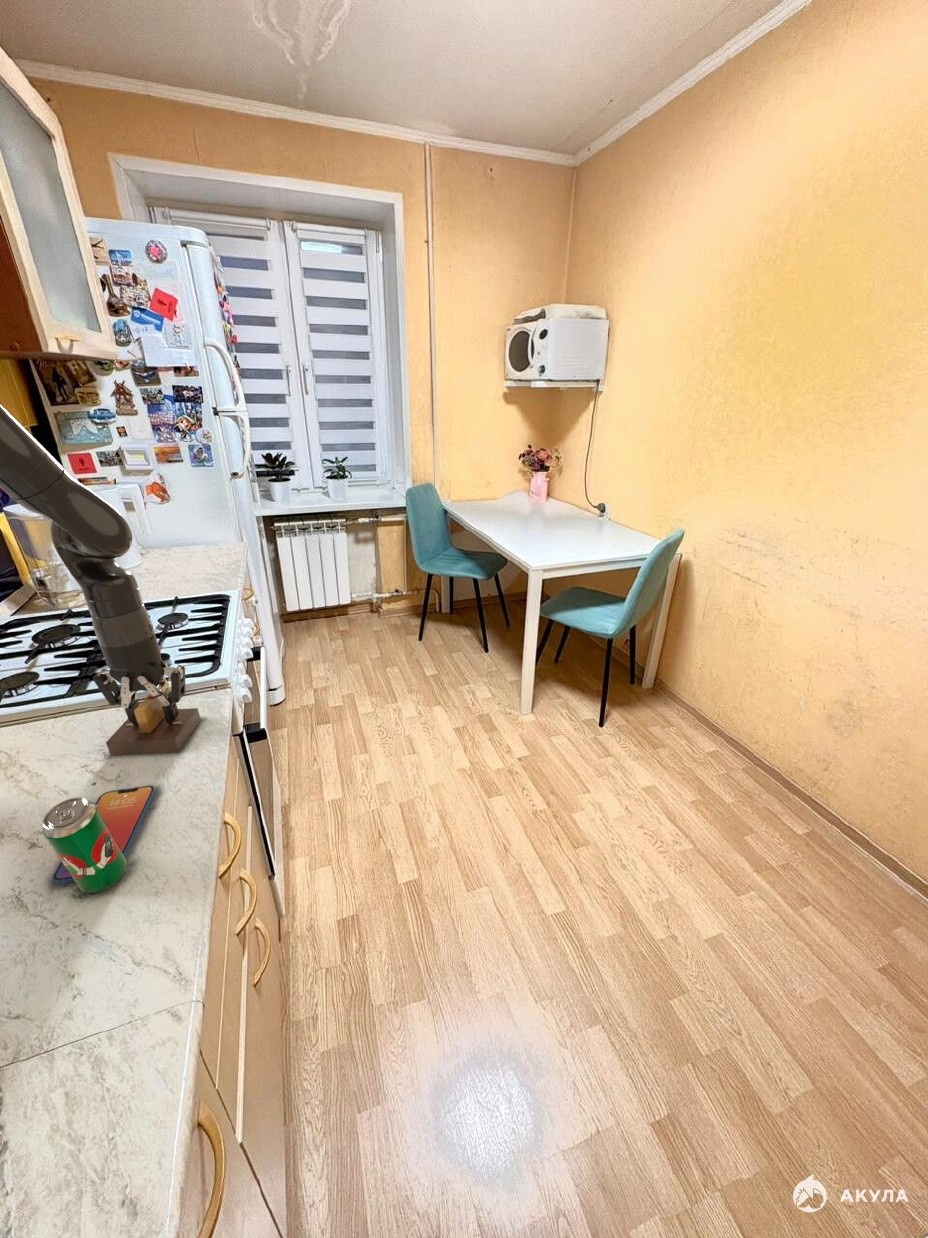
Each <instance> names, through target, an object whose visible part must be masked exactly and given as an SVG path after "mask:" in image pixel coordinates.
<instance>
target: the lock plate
mask: <svg viewBox="0 0 928 1238" xmlns="http://www.w3.org/2000/svg"><path fill="white" fill-rule="evenodd" d="M178 711H179V715H178V717H177V718H176V719H175V721H174V722H173V723H167V721H166V718H165V717H164V718H163V719H162V720H161V722H160V723H159V724H158V725H157V726H156V727H155V728H154V729H153V731H152V732H151V733H141V731H140V728H139V725H133V723H132V722H130V721H129V719H128V718H127V719H126V720H125V721H124V722H123V723H122V724H121V725H120V726H119V727H118V729H117V730H116V731H115V732H114V733H113V734H112V735H111V736H110V737H109V738H108V740H107V741H105V744H106V747H107V749H108V752H109V755H110V756H127V755H128V756H129V755H130V756H131V755H149V754H151V755H153V754H171V753H172V754H173V753H180V752H181V750H182V748H183V747H184V745H185V744H186V743H187V741H188V740H189V738H190V737H191V735H192V734H193V732H194V731H195V730H196V728H197V727H198V726H199V724H200V723H201V721H202V719H201V715H200V712H199V708H198V707H191V708H178Z"/></svg>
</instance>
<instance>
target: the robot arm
mask: <svg viewBox="0 0 928 1238" xmlns="http://www.w3.org/2000/svg"><path fill="white" fill-rule="evenodd" d="M0 489H1V490H2V491H4V492H5V493H6V494H7V495H8V496H9V497H11V499H13V500H14V501H15V502H16V503H17V504H19V505H20V506H22V507H23V508H24V509H25V510H28V512H32V513H34V514H38V515H41V516H43V517H44V518H47V519H49V520H51V523H50V538H51V542H52V544H53V547H54V549H55V551H56V553H57V555H58V556H59V558H60V560H61V561H62V563H63V565H64V566H65V567H66V569H67V570H68V572H69V574H70V575H71V577H72V578H73V579H74V581H75V582H76V583H77V584H78V586H79V587H80V590H81V591H82V595H83V598H84V601H85V603H86V606H87V609H88V612H89V614H90V618H91V622H92V628H93V631H94V634H95V636H96V639H97V641H98V645H99V647H100V650H101V653H102V656H103V659H104V661H105V663H106V666H107V667H108V668H109V669H107V668H102V669H101V670H100V671H99V672H97V673H96V674H95V675H94V676H93V677H92V680H93V682H94V684H95V685H96V687H97V688H98V689H99V691H100V693H101V694H102V696H103V697H104V698H105V700H106V702H107V703H108V705H110V706H113V707H115V706H121V708H123V709H124V711H125V714H126V715H127V716H126V717H127V719H129V721H130V722H132V723H133V725H138V722H137V719H136V716H135V713H134V710H135V709H136V708H137V707H138V706H139V705H140V701H139V700H137V696H138V692H140V691H143V692H148V693H149V694H151V695H152V696H153V697H156V698H157V699H158V700H159V701H160V702H161V704H162V705H163V706H162V709H163V712H164V715H165V718H166V721H167V723H173V722H174V721H175V719H176V718H177V717H178V715H179V711H178V709H179V708H178V705H177V704H178V703H179V702H180V701H181V699H182V698H183V696H185V694H186V667H185V666H184V665H181V664H179V665H178V666H177V667H174V666H173V667H172V666H168V665H167V664H166V663H165V662H164V661H163V659H162V655H161V653H162V652H161V648H160V645H159V642H158V639H157V636H156V632H155V628H154V625H153V623H152V620H151V616H150V614H149V612H148V610H147V608H146V607H145V603H144V601H143V597H142V594H141V591H140V588H139V584H138V581H137V579H136V577H135V575H134V574H133V572H131V571H130V570H128V569H126V568H125V567H122V566H121V565H120V564H119V563H117V561H116V560H115V559H118V558H121V557H123V556H124V555H126V554H127V553H128V552H129V551H130V549H131V548H132V545H133V531H132V529H131V527H130V525H129V522H127V520H126V518H125V517H124V516H123V515H122V514H121V513H120V512H119V511H118V510H117V509H116V508H115V507H113V506H112V505H111V504H110V503H108V502H107V501H106V500H105V499H103V498H102V497H100V496H99V495H98V494H96V493H95V492H94V491H92V490H91V489H90V488H89V487H87V486H85V485H84V484H83V483H82V482H80V481H78V480H77V479H75V478H74V477H73V476H72V475H71V474H70V473H69V471H68V470H67V469H65V468H64V466H63V465H62V464H61V463H60V462H59V461H58V460H57V459H56V458H55V457H54V456H53V455H52V454H51V453H50V451H48V450H47V449H46V448H45V447H44V446H43V444H41V443H40V442H39V441H38V440H37V439H36V438H35V437H34V436H33V435H32V434H31V433H30V432H29V431H28V430H27V429H26V428H25V427H24V426H23V425H22V423H20V422H19V421H18V420H17V419H16V418H15V417H14V416H13V415H12V414H11V413H10V412H9V411H8V410H7V409H6V408H5V407H4V406H2V404H0ZM165 675H166V676H167V678H166V677H165ZM169 682H170V683H169ZM118 683H119V684H120V685H121V686H120V685H119V684H118Z"/></svg>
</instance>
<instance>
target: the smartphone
mask: <svg viewBox="0 0 928 1238" xmlns="http://www.w3.org/2000/svg"><path fill="white" fill-rule="evenodd" d="M155 795H156V789H155V787H154V786H153V785H144V786H136V787H129V788H123V789H116V790H109V791H106V792H104V793H102V794H101V795H100V796H99V797H98V799H97V800H96V802H95V803H94V804H95V805H96V806H97V808H98V810H99V812H100V814H101V815H102V817H103V819H104V821H105V823H106V824H107V826H108V828H109V830H110V832H111V833H112V835H113V837H114V839H115V841H116V842H117V844H118V846H119V848H120V850H121V851H122V853H123V855H124V857H125V858H126V857H127V856H128V853H129V851H130V849H131V847H132V845H133V843H134V840H135V838H136V837H137V835H138V832H139V830H140V828H141V825H142V823H143V821H144V819H145V817H146V815H147V812H148V810H149V808H150V806H151V804H152V802H153V799H154V797H155ZM52 879H53V882H54V884H56V885H64V884H70V883H76V882H75V881H74V879H73V878H72V876H71V875H70V873H69V872H68V870H67V869H66V867H65V866H64V864H63V863H62V861H61V860H60V863H59V865H58V867H57V868H56V870H55V872H54V873H53V876H52Z"/></svg>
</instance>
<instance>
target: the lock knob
mask: <svg viewBox="0 0 928 1238" xmlns="http://www.w3.org/2000/svg"><path fill="white" fill-rule="evenodd" d="M162 706H163V705H162V704H161V702H160V701H159V700H158V699H157V698H156V697H153V696H152V695H151V694H150V693H149V694H148V695H147V696H146V698H145V699H144V700H143V701H142V702H141V703H139V706H138V707H137V708H136V709H135V710H134V713H135V716H136V719H137V722H138V725H139V728H140V731H141V733H151V732H152V731H153V729H154V728H155V727H156V726H157V725H158V724H159V723H160V722H161V720H162V719H163V718H164V717H165V715H164V712H163V709H162Z"/></svg>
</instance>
